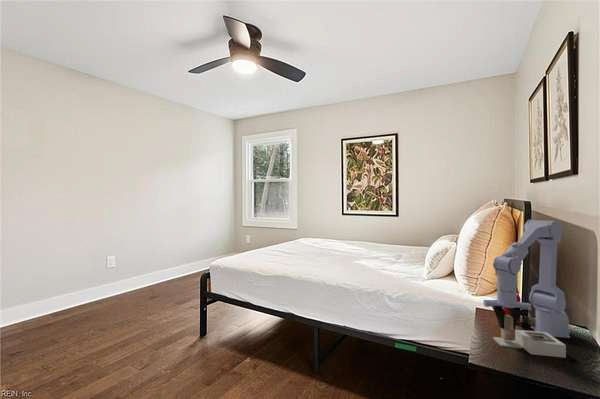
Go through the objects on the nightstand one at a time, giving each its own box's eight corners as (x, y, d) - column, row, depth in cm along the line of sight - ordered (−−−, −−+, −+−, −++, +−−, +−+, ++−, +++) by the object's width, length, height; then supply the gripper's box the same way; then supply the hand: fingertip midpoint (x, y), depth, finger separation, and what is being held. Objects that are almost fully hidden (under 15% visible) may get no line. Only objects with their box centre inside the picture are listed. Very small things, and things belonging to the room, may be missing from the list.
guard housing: (547, 343, 105) (546, 331, 105) (566, 357, 95) (565, 344, 95) (515, 340, 107) (515, 328, 107) (530, 354, 97) (530, 340, 97)
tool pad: (512, 340, 107) (512, 338, 107) (521, 348, 101) (521, 346, 101) (493, 338, 109) (493, 336, 109) (501, 346, 102) (501, 344, 102)
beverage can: (523, 324, 122) (523, 295, 122) (507, 323, 123) (506, 294, 124) (515, 319, 128) (515, 291, 128) (500, 317, 129) (500, 290, 130)
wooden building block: (509, 337, 106) (509, 315, 106) (513, 340, 103) (513, 318, 103) (500, 336, 106) (500, 314, 107) (504, 340, 104) (504, 317, 104)
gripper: (489, 291, 103) (489, 330, 103) (536, 294, 100) (536, 334, 99) (481, 286, 110) (481, 322, 109) (525, 289, 107) (525, 326, 106)
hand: (506, 328), depth 105 cm, fingers closed on wooden building block, 3 cm apart
